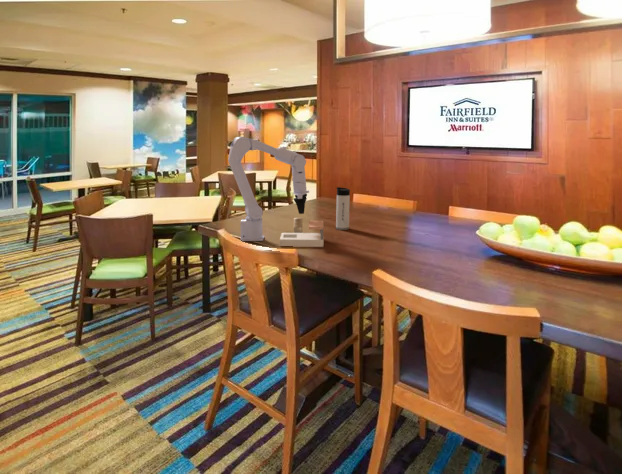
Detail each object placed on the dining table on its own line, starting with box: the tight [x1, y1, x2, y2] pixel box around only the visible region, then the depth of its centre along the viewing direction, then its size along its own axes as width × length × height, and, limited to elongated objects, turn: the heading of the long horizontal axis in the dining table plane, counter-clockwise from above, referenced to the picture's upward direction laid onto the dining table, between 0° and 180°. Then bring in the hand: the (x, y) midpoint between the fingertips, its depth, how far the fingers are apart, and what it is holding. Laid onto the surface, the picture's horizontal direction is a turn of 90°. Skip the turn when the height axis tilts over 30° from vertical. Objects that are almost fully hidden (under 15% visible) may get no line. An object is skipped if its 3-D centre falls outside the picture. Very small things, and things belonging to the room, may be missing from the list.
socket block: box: [279, 219, 325, 248], centre depth 181 cm, size 18×13×8 cm
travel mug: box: [335, 186, 351, 231], centre depth 207 cm, size 6×7×20 cm
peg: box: [293, 217, 304, 233], centre depth 193 cm, size 4×4×8 cm
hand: (301, 211), depth 192 cm, fingers open, 7 cm apart
